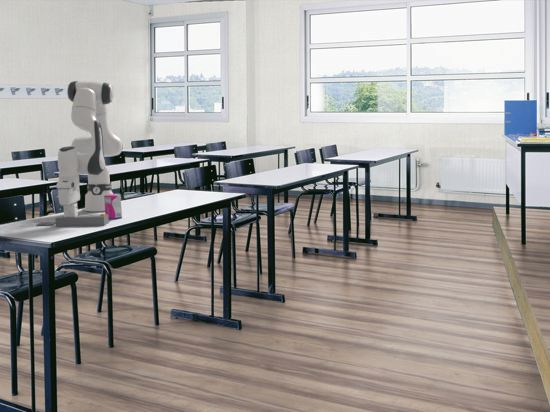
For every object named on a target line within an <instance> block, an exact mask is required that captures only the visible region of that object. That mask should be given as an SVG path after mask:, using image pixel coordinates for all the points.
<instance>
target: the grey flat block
mask: <svg viewBox="0 0 550 412" xmlns="http://www.w3.org/2000/svg"><path fill="white" fill-rule="evenodd" d="M111 220H112V219H110V218H108V214H105V212H103V213H100V214H78V216H77V217H64V214H60V215H57V216H56V217H54V222H55V224H54V226H55V227H99V226H100V227H102V226H103V227H104V226H106V225H108V224H109V223H110V221H111Z"/></svg>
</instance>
